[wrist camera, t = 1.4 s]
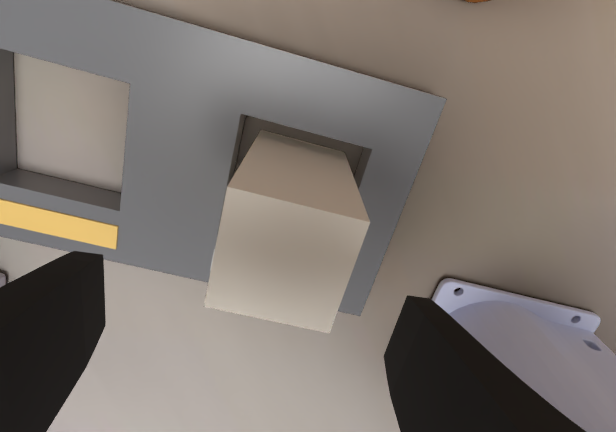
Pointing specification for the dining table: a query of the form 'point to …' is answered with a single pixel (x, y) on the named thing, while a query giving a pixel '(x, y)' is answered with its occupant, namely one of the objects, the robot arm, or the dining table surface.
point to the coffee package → (476, 1)
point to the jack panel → (196, 134)
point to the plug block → (288, 234)
